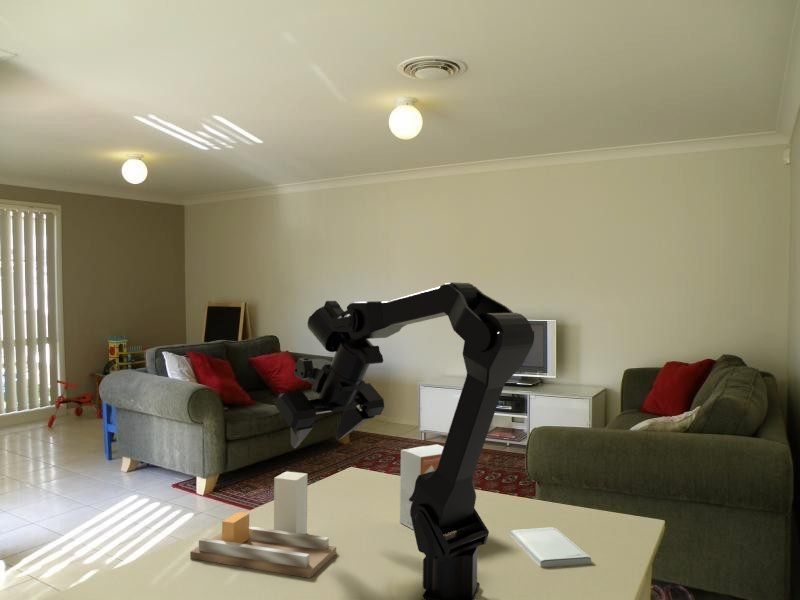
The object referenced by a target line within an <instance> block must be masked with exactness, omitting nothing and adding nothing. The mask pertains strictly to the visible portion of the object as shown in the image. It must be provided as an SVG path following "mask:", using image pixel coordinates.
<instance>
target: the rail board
mask: <svg viewBox="0 0 800 600" xmlns="http://www.w3.org/2000/svg"><path fill="white" fill-rule="evenodd" d="M329 544H330V543H329V537H328V536H327V537H326V536H321V535H314V534H313V535H312V534H308V533H307V534H301V533H294V532H287V531H280V530H274V528H273V529H271V528H263V527H259V526H258V527H257V526H252V525H251V526H250V525H249V539H248V540H246V541H245V542H243V543H242V544H240V543H234V542H227V541H222V532H220V533H219V534H216V535H215V536H213V537H212V538H207V537H202V538H200V539H199V540H198V546H197V547H196V548H194V549H192V550H191V551H190V552H189V553H190V555H189V557H190V559H194V560H199V561H204V562H205V561H206V562H212V563H216V562H217V564H224V565H228V566H229V565H230V566H236V567H241V568H246V569H253V570H260V571H265V572H270V573H271V572H272V573H277V574H283V575H284V574H285V575H290V576H296V577H302V578H308V579H311V578H312V577H313V576H314V575H315V574H316V573H318V572H319V570H321V569H322V567H324V566H325V565H326V564H327V563H328V562H329V561H330V560H332V558H333V557H334V556H336V554H337V546H332V545H329Z"/></svg>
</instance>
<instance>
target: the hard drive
mask: <svg viewBox="0 0 800 600" xmlns="http://www.w3.org/2000/svg"><path fill="white" fill-rule="evenodd" d="M509 533H510V534H509V535H510V537H511V538H512V539H513V541H515V543H516V544H518V545H519V547H520V548H521V549H522V550H523V551H524V552H525V553H526V554H527V555H528V556H529V557H530V558H531V559H532V560H533V561H534V563H535V564H536V565H538V567H540V568H549V567H562V566H574V565H575V566H577V565H586V564H587V565H589V564H592V558H591V556H590V555H589V554H588V553H586V552H585V551H583V550H582V549H581V548H580V547H579V546H578V545H576V544H575V543H574V542H573V541H572V540H571V539H569V538H568V537H567V536H566V535H565V534H563V532H561V531H560V530H559V529H557V528H556V527H553V526H551V527H539V528H538V527H537V528H535V527H534V528H533V527H532V528H521V529H512V530H510V532H509Z"/></svg>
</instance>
